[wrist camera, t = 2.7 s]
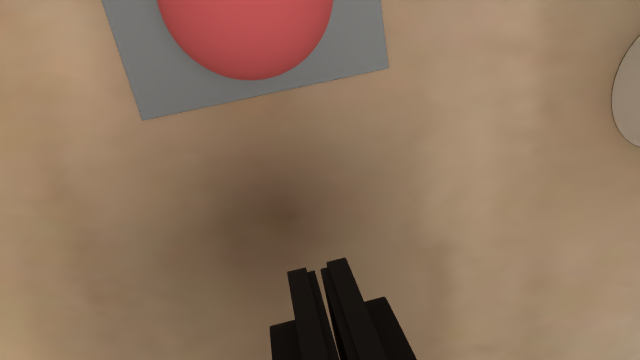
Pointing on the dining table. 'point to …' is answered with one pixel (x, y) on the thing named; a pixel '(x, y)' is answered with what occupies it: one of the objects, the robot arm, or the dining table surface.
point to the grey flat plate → (212, 89)
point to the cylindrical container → (628, 95)
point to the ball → (247, 33)
